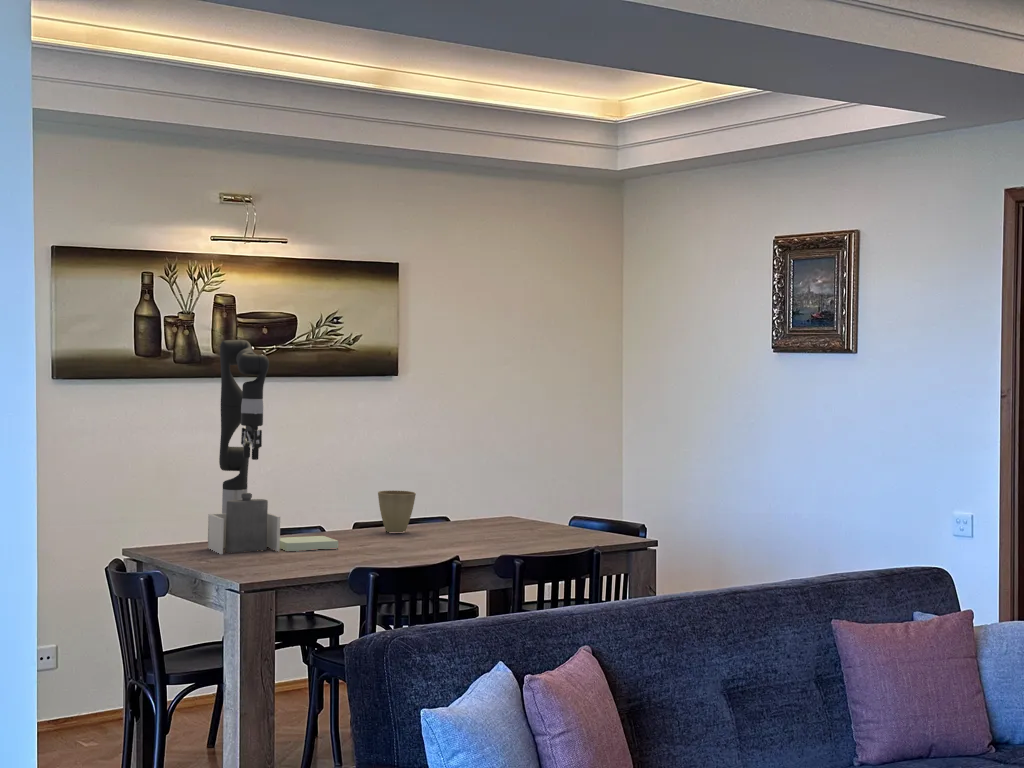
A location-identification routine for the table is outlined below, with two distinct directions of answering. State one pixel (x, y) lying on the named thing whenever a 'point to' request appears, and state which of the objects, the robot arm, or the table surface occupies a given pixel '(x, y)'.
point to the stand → (307, 543)
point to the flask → (246, 524)
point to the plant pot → (396, 509)
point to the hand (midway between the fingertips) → (250, 458)
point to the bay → (219, 532)
